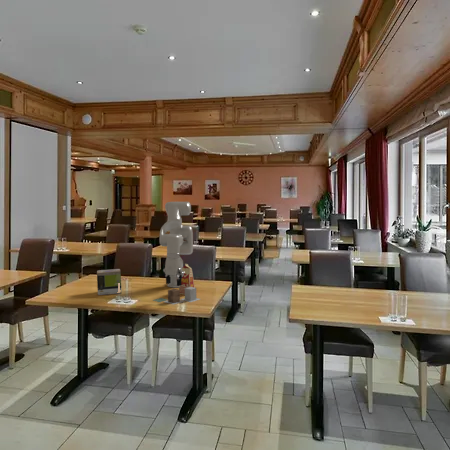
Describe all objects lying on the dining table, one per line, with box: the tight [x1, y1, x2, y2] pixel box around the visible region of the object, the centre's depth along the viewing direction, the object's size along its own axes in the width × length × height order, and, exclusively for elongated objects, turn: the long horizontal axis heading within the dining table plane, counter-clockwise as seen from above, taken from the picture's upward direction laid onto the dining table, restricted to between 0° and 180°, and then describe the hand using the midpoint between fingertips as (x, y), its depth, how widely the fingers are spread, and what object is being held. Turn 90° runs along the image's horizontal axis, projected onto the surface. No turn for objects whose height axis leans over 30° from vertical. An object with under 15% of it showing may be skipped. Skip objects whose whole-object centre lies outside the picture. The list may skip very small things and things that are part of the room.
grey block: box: [184, 286, 197, 301], centre depth 244 cm, size 5×5×7 cm
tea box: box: [96, 268, 122, 296], centre depth 263 cm, size 15×10×15 cm, turn 108°
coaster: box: [152, 297, 168, 303], centre depth 243 cm, size 7×7×1 cm
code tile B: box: [180, 297, 201, 303], centre depth 245 cm, size 9×9×1 cm
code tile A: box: [164, 299, 185, 306], centre depth 240 cm, size 9×9×1 cm
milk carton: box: [178, 263, 196, 295], centre depth 261 cm, size 9×9×20 cm
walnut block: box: [167, 288, 181, 303], centre depth 239 cm, size 5×5×7 cm
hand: (173, 284), depth 238 cm, fingers open, 9 cm apart
